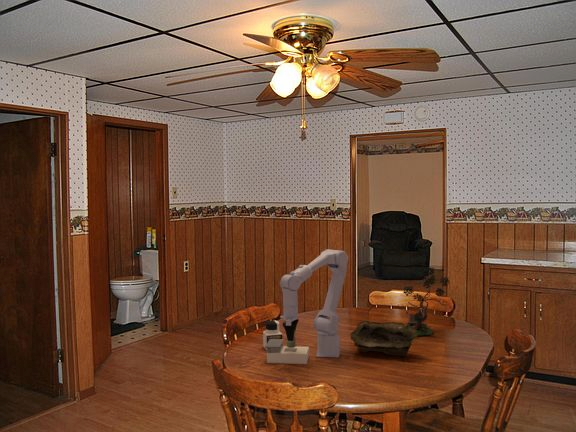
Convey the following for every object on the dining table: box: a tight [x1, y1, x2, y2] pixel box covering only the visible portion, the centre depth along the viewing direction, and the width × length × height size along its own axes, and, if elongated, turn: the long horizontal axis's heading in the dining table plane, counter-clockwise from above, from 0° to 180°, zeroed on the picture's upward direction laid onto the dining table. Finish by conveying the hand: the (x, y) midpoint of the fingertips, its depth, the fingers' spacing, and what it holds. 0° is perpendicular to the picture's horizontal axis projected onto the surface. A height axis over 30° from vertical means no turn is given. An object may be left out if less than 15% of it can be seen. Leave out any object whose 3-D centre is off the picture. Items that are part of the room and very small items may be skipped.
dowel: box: [286, 332, 297, 348], centre depth 202 cm, size 4×4×8 cm
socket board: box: [264, 338, 310, 365], centre depth 207 cm, size 16×11×7 cm, turn 82°
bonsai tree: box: [403, 266, 451, 337], centre depth 248 cm, size 35×24×32 cm
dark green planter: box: [350, 320, 419, 358], centre depth 214 cm, size 28×13×15 cm
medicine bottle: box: [262, 319, 284, 352], centre depth 223 cm, size 7×7×12 cm
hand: (291, 339), depth 202 cm, fingers closed on dowel, 3 cm apart
